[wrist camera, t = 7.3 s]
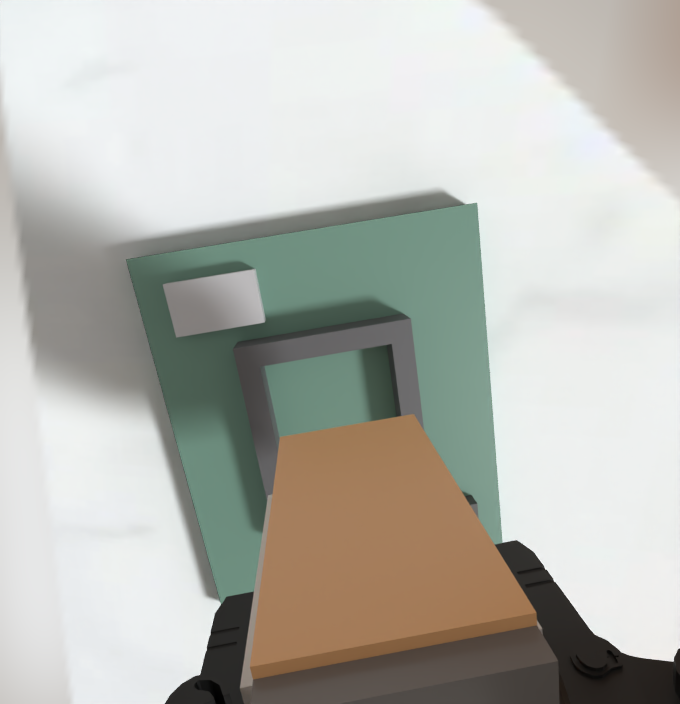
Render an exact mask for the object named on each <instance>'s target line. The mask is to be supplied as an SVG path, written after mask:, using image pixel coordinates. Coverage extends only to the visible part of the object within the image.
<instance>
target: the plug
mask: <svg viewBox="0 0 680 704" xmlns="http://www.w3.org/2000/svg"><path fill="white" fill-rule="evenodd" d="M250 670H251V674H252V678H253V684H252V692H251V700H250V704H559V666H558V660H557V658H556V656H555V655H554V653H553V651H552V650H551V648H550V646H549V645H548V643H547V641H546V640H545V638H544V636H543V635H542V633H541V631H540V630H539V628H538V626H537V613H536V611H535V609H534V608H533V606H532V605H531V603H530V601H529V600H528V598H527V596H526V595H525V593H524V592H523V590H522V588H521V587H520V585H519V584H518V582H517V580H516V579H515V577H514V575H513V574H512V572H511V571H510V569H509V567H508V566H507V564H506V562H505V561H504V559H503V558H502V556H501V554H500V553H499V551H498V550H497V548H496V546H495V545H494V543H493V541H492V540H491V538H490V537H489V535H488V533H487V532H486V530H485V528H484V527H483V525H482V524H481V522H480V520H479V519H478V517H477V516H476V514H475V512H474V511H473V509H472V507H471V506H470V504H469V503H468V501H467V499H466V498H465V496H464V494H463V493H462V491H461V490H460V488H459V486H458V485H457V483H456V482H455V480H454V478H453V477H452V475H451V473H450V472H449V470H448V469H447V467H446V465H445V464H444V462H443V461H442V459H441V457H440V456H439V454H438V452H437V451H436V449H435V448H434V446H433V444H432V443H431V441H430V439H429V438H428V436H427V435H426V433H425V431H424V430H423V428H422V427H421V425H420V423H419V422H418V420H417V418H416V417H415V415H414V414H411V415H405V416H399V417H393V418H388V419H382V420H376V421H370V422H364V423H358V424H353V425H347V426H341V427H335V428H329V429H323V430H318V431H312V432H306V433H300V434H294V435H288V436H283V437H280V441H279V448H278V456H277V464H276V471H275V479H274V486H273V494H272V502H271V509H270V517H269V524H268V532H267V540H266V547H265V555H264V562H263V570H262V578H261V585H260V593H259V600H258V608H257V616H256V623H255V631H254V638H253V646H252V654H251V661H250Z"/></svg>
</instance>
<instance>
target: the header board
mask: <svg viewBox="0 0 680 704" xmlns="http://www.w3.org/2000/svg"><path fill="white" fill-rule="evenodd" d="M126 261H127V265H128V268H129V272H130V276H131V279H132V283H133V287H134V290H135V294H136V297H137V301H138V305H139V308H140V312H141V316H142V319H143V323H144V326H145V330H146V334H147V337H148V341H149V345H150V348H151V352H152V355H153V359H154V363H155V366H156V370H157V374H158V377H159V381H160V385H161V388H162V392H163V395H164V399H165V403H166V406H167V410H168V414H169V417H170V421H171V424H172V428H173V432H174V435H175V439H176V443H177V446H178V450H179V453H180V457H181V461H182V464H183V468H184V472H185V475H186V479H187V482H188V486H189V490H190V493H191V497H192V501H193V504H194V508H195V511H196V515H197V519H198V522H199V526H200V530H201V533H202V537H203V541H204V544H205V548H206V551H207V555H208V559H209V562H210V566H211V570H212V573H213V577H214V580H215V584H216V588H217V591H218V595H219V599H220V602H221V604H222V603H223V601H224V600H225V598H226V597H227V596H232V595H238V594H243V593H248V592H254V588H255V581H256V575H257V568H258V561H259V554H260V547H261V541H262V534H263V527H264V520H265V513H266V506H267V500H268V495H272V494H273V486H274V479H275V471H276V464H277V456H278V448H279V441H280V437H283V436H288V435H294V434H300V433H306V432H312V431H318V430H323V429H329V428H335V427H341V426H347V425H353V424H358V423H364V422H370V421H376V420H382V419H388V418H393V417H399V416H405V415H411V414H414V415H415V417H416V418H417V420H418V422H419V423H420V425H421V427H422V428H423V430H424V431H425V433H426V435H427V436H428V438H429V439H430V441H431V443H432V444H433V446H434V448H435V449H436V451H437V452H438V454H439V456H440V457H441V459H442V461H443V462H444V464H445V465H446V467H447V469H448V470H449V472H450V473H451V475H452V477H453V478H454V480H455V482H456V483H457V485H458V486H459V488H460V490H461V491H462V493H463V494H464V496H465V498H466V499H467V501H468V503H469V504H470V506H471V507H472V509H473V511H474V512H475V514H476V516H477V517H478V519H479V520H480V522H481V524H482V525H483V527H484V528H485V530H486V532H487V533H488V535H489V537H490V538H491V540H492V541H493V543H494V545H495V544H500V543H502V532H501V518H500V505H499V491H498V478H497V464H496V451H495V438H494V424H493V411H492V397H491V384H490V370H489V357H488V343H487V330H486V316H485V303H484V289H483V276H482V262H481V249H480V235H479V222H478V209H477V203H472V204H466V205H460V206H454V207H448V208H441V209H435V210H429V211H423V212H417V213H410V214H404V215H398V216H392V217H386V218H379V219H373V220H367V221H361V222H355V223H349V224H342V225H336V226H330V227H324V228H318V229H311V230H305V231H299V232H293V233H287V234H280V235H274V236H268V237H262V238H256V239H249V240H243V241H237V242H231V243H225V244H218V245H212V246H206V247H200V248H194V249H188V250H181V251H175V252H169V253H163V254H157V255H150V256H144V257H138V258H132V259H126Z"/></svg>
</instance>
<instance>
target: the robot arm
mask: <svg viewBox="0 0 680 704" xmlns="http://www.w3.org/2000/svg"><path fill="white" fill-rule="evenodd" d="M271 502H272V495H268V500H267V506H266V513H265V520H264V527H263V534H262V541H261V547H260V554H259V561H258V568H257V575H256V581H255V588H254V592H248V593H243V594H238V595H232V596H227V597H226V598H225V600H224V601H223V603H222V604H221V606H220V607H219V609H218V610H217V612H216V613H215V616H214V621H213V625H212V629H211V636H210V637H209V641H208V645H207V651H206V654H205V658H204V662H203V666H202V670H201V674H200V675H198V676H195V677H193V678H191V679H189V680H188V681H186V682H184V683H182V684H181V685H180V686H179V687H178V688H177V689H176V690H175V691H174V692H173V693H172V694H171V695H170V696H169V698H168V700H167V701H166V703H165V704H250V700H251V692H252V684H253V678H252V674H251V670H250V661H251V654H252V646H253V638H254V631H255V623H256V616H257V608H258V600H259V593H260V585H261V578H262V570H263V562H264V555H265V547H266V540H267V532H268V524H269V517H270V509H271ZM495 546H496V548H497V550H498V551H499V553H500V554H501V556H502V558H503V559H504V561H505V562H506V564H507V566H508V567H509V569H510V571H511V572H512V574H513V575H514V577H515V579H516V580H517V582H518V584H519V585H520V587H521V588H522V590H523V592H524V593H525V595H526V596H527V598H528V600H529V601H530V603H531V605H532V606H533V608H534V609H535V611H536V613H537V626H538V628H539V630H540V631H541V633H542V635H543V636H544V638H545V640H546V641H547V643H548V645H549V646H550V648H551V650H552V651H553V653H554V655H555V656H556V658H557V660H558V666H559V704H680V649H678V651H677V653H676V655H675V657H674V662H669V661H661V660H652V659H644V658H638V657H633V656H629V655H626V654H624V653H621V652H620V651H619V650H618V649H617V648H616V647H615V646H613V645H612V644H611V643H609V642H608V641H607V640H605V639H603V638H600V637H598V636H596V635H594V633H593V632H592V631H591V630H590V629H589V628H588V626H587V625H586V623H585V622H584V621H583V619H582V618H581V617H580V615H579V614H578V612H577V611H576V610H575V608H574V607H573V606H572V604H571V603H570V601H569V600H568V599H567V597H566V596H565V595H564V593H563V592H562V590H561V589H560V588H559V586H558V585H557V584H556V582H554V580H553V578H552V577H551V575H550V574H549V573H548V571H547V570H545V568H544V566H543V564H542V563H541V562H540V560H539V559H538V558H537V556H536V555H535V553H534V552H533V551H531V550H530V549H529V548H527V547H526V546H524V545H523V544H521V543H520V542H518V541H517V540H516V541H510V542H505V543H500V544H495Z"/></svg>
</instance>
